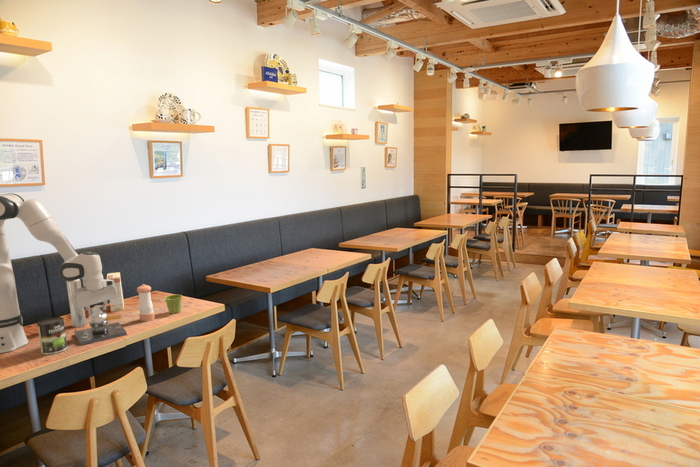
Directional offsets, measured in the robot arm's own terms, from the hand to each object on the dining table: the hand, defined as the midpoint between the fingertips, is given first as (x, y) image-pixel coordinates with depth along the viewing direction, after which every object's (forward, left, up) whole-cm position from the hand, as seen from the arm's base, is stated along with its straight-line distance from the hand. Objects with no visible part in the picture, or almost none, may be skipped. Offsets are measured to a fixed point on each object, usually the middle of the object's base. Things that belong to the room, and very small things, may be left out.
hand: (97, 311), depth 233 cm
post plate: (0, 0, -11) cm, 11 cm away
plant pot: (+39, +10, -12) cm, 42 cm away
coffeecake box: (+16, +44, -12) cm, 48 cm away
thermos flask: (-6, +24, -12) cm, 27 cm away
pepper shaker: (+24, +8, -12) cm, 28 cm away
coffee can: (-20, -8, -12) cm, 25 cm away
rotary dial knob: (+3, -1, -6) cm, 7 cm away
